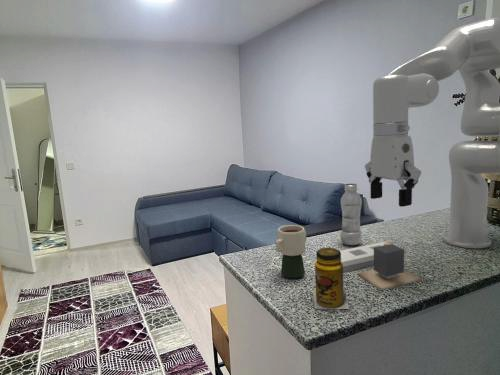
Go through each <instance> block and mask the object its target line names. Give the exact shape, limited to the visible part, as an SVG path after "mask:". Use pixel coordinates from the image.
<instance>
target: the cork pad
mask: <svg viewBox="0 0 500 375" xmlns="http://www.w3.org/2000/svg"><path fill="white" fill-rule="evenodd" d="M357 276H358V277H360V278H362V279H363V280H365V281H366V282H368V283H369V284H370V285H373V286H374V287H376V288H377V289H379V290H381V291H383V290H388V289H393V288H395V287H400V286H403V285H407V284H412V283H414V282H419V281H422V277H420V276H418V275H416V274H415V273H412V272H411V271H408V270H406V269H404V272H403V273H399V274H398V277H393V278H389V279H386V278H385V277H383V276H381V275H379V273H378V272H377V271H375V270H374V269H370V270H366V271H362V272H357Z"/></svg>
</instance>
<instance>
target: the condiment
mask: <svg viewBox="0 0 500 375" xmlns="http://www.w3.org/2000/svg"><path fill="white" fill-rule="evenodd" d="M340 251H341V250H339V249H337V248H333V247H323V248H320V249H318V250H317V251H316V258H315V259H316V261H315V264H314V269H315V270H314V271H315V272H314V273H315V275H314V276H315V289H313V290H312V294H313V303H314V304H313V305H314V309H316V310H318V309H319V310H350V305H349V303H348V299H347V295H346V293H345V289H344V272H343V264H342V262H341V252H340Z"/></svg>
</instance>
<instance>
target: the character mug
mask: <svg viewBox="0 0 500 375" xmlns="http://www.w3.org/2000/svg"><path fill="white" fill-rule="evenodd" d="M306 242H307V232H306V230H305V227H304V226H302V225H297V224H289V225H287V224H286V225H281V226H279V227H278V228H277V239H276V241H275V250H276V253H280V254H282V257H281V259H282V260H281V267H280V268H281V270H280V272H281V275H282V276H284V277H288V278H295V279H296V278H301V277H303V276H304V275H305V273H306V272H305V265H304V260H303V256H302V255H303V254H305V252H306Z"/></svg>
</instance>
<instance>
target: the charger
mask: <svg viewBox="0 0 500 375" xmlns="http://www.w3.org/2000/svg"><path fill="white" fill-rule="evenodd" d="M373 270H375V271H377V272H378V273H379V275H381V276H383V277H385V278H386V279H389V278H393V277H398V274H399V273H403V272H404V270H405V249H404V248H401V247H399V246H397V245H395V244H392V243H389V245H384V246H379V247H374V265H373Z"/></svg>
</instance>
